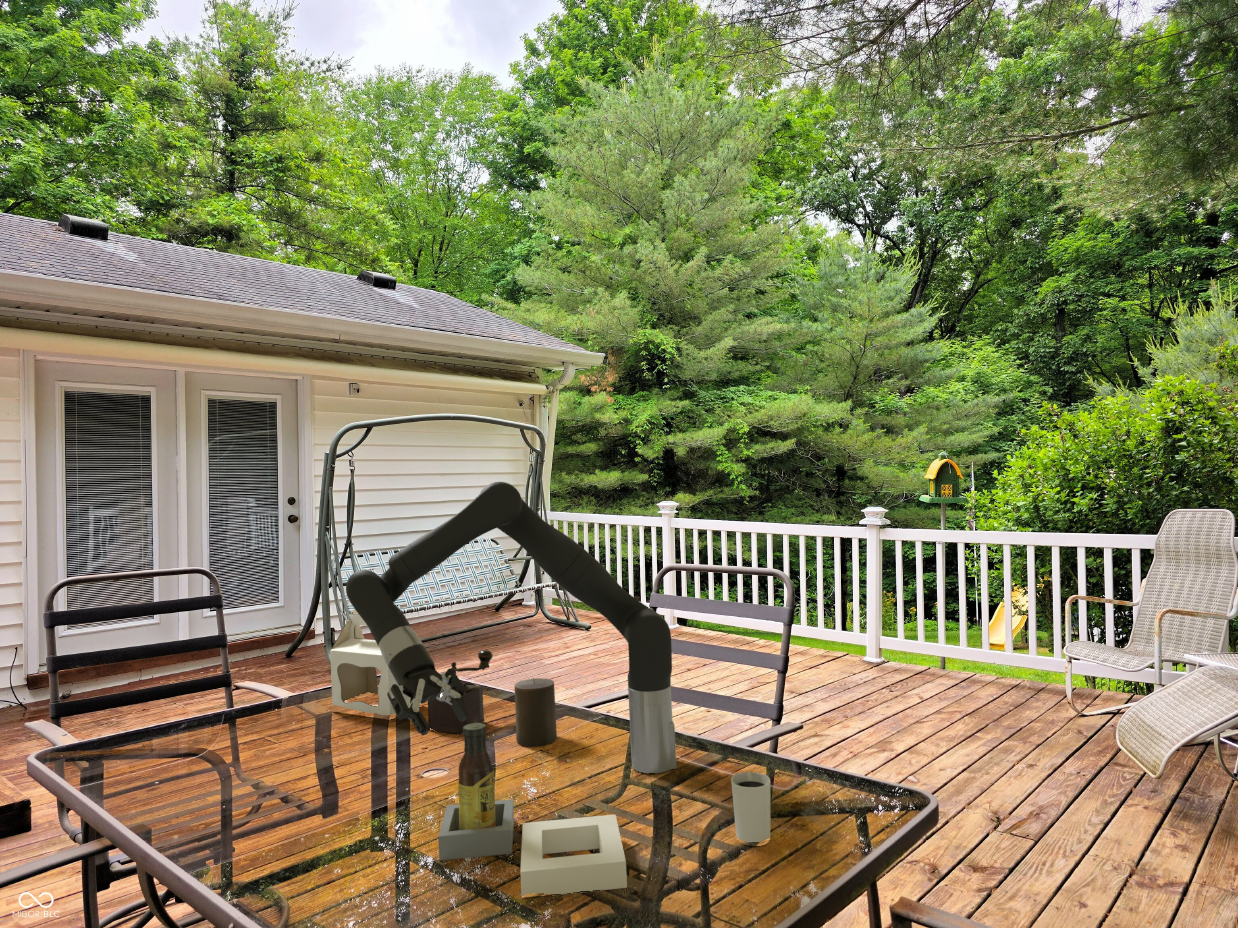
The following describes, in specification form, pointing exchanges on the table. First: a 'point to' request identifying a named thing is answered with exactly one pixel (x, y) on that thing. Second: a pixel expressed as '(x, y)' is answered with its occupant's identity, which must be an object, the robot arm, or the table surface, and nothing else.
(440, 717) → the manual coffee grinder
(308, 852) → the table surface
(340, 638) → the gable box
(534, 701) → the pillar candle
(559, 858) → the socket collar
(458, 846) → the frame
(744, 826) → the white coffee cup
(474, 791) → the sauce bottle
